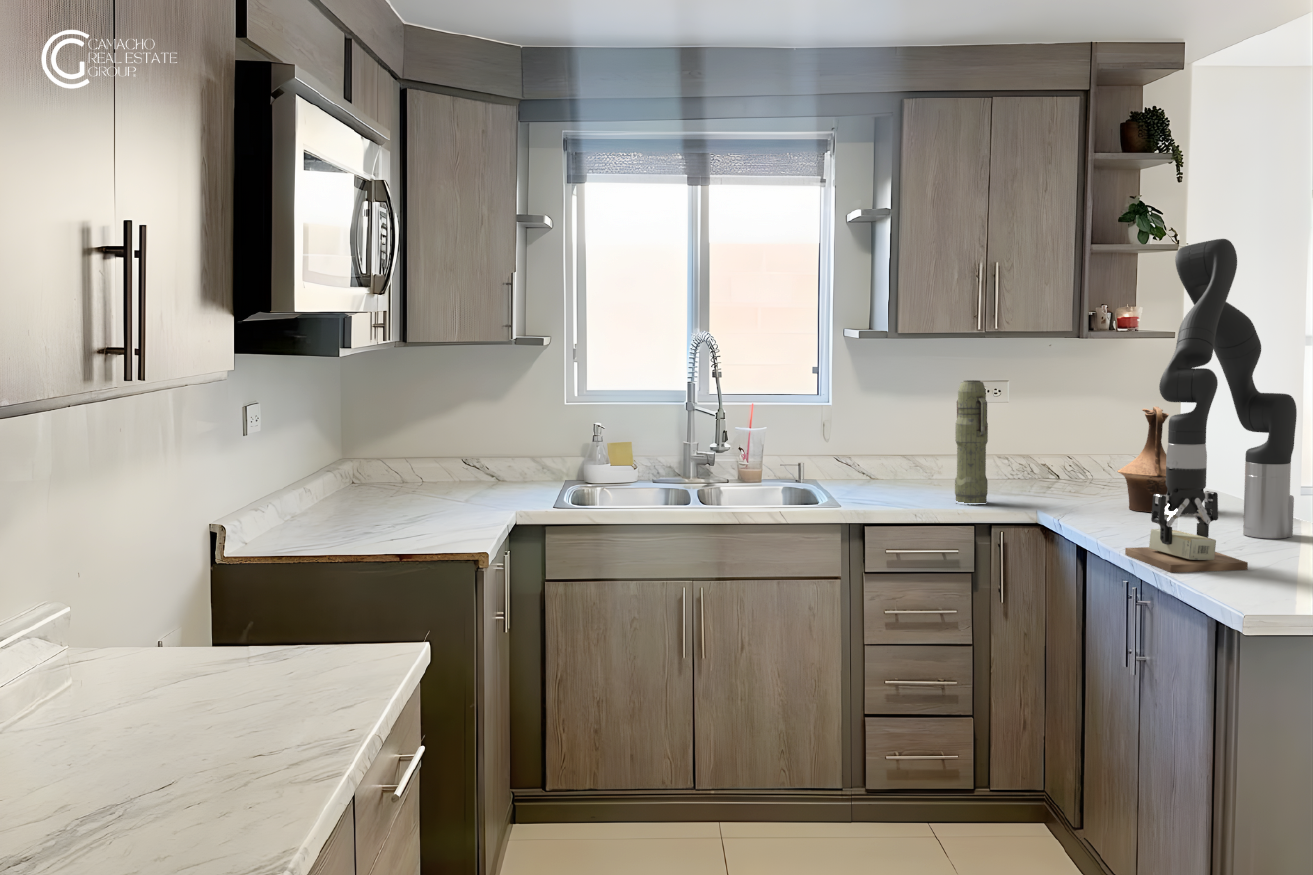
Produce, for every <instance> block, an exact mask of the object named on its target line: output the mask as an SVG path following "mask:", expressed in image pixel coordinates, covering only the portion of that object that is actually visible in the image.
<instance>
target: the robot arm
mask: <svg viewBox="0 0 1313 875" xmlns="http://www.w3.org/2000/svg"><path fill="white" fill-rule="evenodd" d="M1174 261H1175V268H1176V271H1177V275H1178V277H1179V280H1180V281H1181V284H1182V285H1183V287H1184V289H1185V291H1186V293H1187V294H1188V296H1189V298H1190V300H1191V301H1192V304H1193V306H1192V307H1191V309H1189V312H1187V313H1186V315H1185V317H1184V318H1183V319H1182V321H1181V323H1180V326H1179V328H1178V334H1177V340H1176V345H1175V349H1174V350H1175V351H1174V353H1173V355H1172V357H1171V358H1170V361H1169V363H1168V364H1167V366H1166V368H1165V369H1164V371H1163V374H1162V375H1161V377H1160V382H1159V389H1158V390H1159V394H1160V396H1161V397H1162V399H1163V400H1164V401H1166V402H1169V403H1193V404H1195V407H1194V408H1193V410H1191V411H1189V412H1186V413H1185V412H1184V413H1179V414H1178V413H1177V414H1174V415H1171V416H1170V417H1169V419H1168V431H1167V432H1168V433H1167V447H1166V486H1167V489H1168V491H1167V494H1166V495H1160V494H1154V495H1153V503H1152V512H1151V519H1150V520H1151V522H1152V523H1155V524H1158V525H1159V526H1160V528H1159V529H1160V540H1161V541H1162V543H1163V544H1167V545H1170V544H1172V530H1173V526H1172V525H1173V523H1175V520H1176V519H1178V518H1179V517H1180V516H1181V515H1183V516H1184V515H1187V514H1189V515H1190V514H1191V515H1193V516H1194V518H1195V519H1196V521H1197V523H1196V535H1198V536H1202V537H1206V538H1209V537H1210V536H1209V534H1210V532H1209V531H1210V529H1209V528H1210V524H1211V522H1213V521H1215V522H1216V521H1218V519H1219V499H1218V498H1219V497H1218V496H1219V495H1218V494H1219V493H1218V492H1216V491H1215V492H1214V491H1211V490H1206V491H1204V489H1206V487H1207V466H1208V465H1207V463H1208V461H1207V460H1208V455H1207V454H1208V452H1207V424H1208V418H1209V413H1210V411H1211V407H1212V404H1213V401H1214V398H1215V396H1216V393H1217V390H1218V383H1219V382H1218V377H1217V375H1216V374H1215V372H1214V371H1213V370H1212V369H1210V368H1202V367H1203V366H1205V365H1208V364H1209V363H1210V362H1211V360H1212V358H1213V355H1214V354H1215V356H1216V358H1217V360H1218V362H1219V365H1220V368H1221V369H1222V372H1223V374H1224V376H1225V380H1226V382H1227V385H1228V388H1229V390H1230V395H1231V398H1232V401H1233V405H1234V407H1235V408H1234V409H1235V412H1236V415H1237V418H1238V420H1239V423H1240V424H1241V426H1242V427H1243V428H1244V429H1245V430H1246V431H1248V432H1253V433H1264V434H1265V433H1266V434H1268V437H1267V439H1266V441H1265V442H1263V444H1261V445H1258V446H1254V447H1251V448H1248V449H1247V450H1246V452H1245V460H1244V461H1245V462H1244V463H1245V464H1244V465H1245V466H1244V495H1243V496H1244V497H1243V498H1244V499H1243V526H1242V529H1243V530H1242V531H1243V533H1242V534H1243V535H1244V536H1247V537H1252V538H1259V539H1286V538H1293V535H1294V508H1295V507H1294V505H1295V503H1294V502H1295V497H1294V495H1291V469H1292V456H1293V452H1294V448H1295V436H1296V427H1297V426H1296V425H1297V415H1298V414H1297V412H1298V411H1297V404H1296V401H1295V399H1294V397H1293V396H1292V395H1291V394H1287V393H1277V392H1276V393H1274V392H1260V391H1258V389H1257V387H1256V385H1255V383H1254V379H1253V376H1254V371H1255V369H1256V367H1257V365H1258V362H1259V359H1260V358H1261V354H1262V353H1261V352H1262V344H1261V343H1262V342H1261V340H1260V337H1259V334H1258V332H1257V329H1256V328H1255V325H1254V323H1253V321H1252V320H1251V318H1250V317H1248V316H1247V315H1246V314H1245V313H1244V312H1243V311H1241V310H1240V309H1238V308H1236V307H1235V306H1234V305H1232V304H1231V303H1229V302H1228V301H1227V300H1228V297H1229V294H1230V292H1231V288H1232V285H1233V282H1234V280H1235V276H1236V273H1237V268H1238V256H1237V250H1236V248H1235V246H1234V244H1233V243H1232V241H1230V240H1229V239H1227V238H1218V239H1212V240H1207V241H1201V242H1197V243H1193V244H1188V245H1185V246H1183V247H1180V248H1178V250H1177V251H1176V254H1175V260H1174ZM1213 353H1214V354H1213ZM1199 367H1201V368H1199ZM1167 502H1168V505H1167V506H1166V504H1167ZM1203 502H1204V505H1203ZM1165 506H1166V508H1165ZM1172 510H1173V511H1172Z"/></svg>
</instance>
